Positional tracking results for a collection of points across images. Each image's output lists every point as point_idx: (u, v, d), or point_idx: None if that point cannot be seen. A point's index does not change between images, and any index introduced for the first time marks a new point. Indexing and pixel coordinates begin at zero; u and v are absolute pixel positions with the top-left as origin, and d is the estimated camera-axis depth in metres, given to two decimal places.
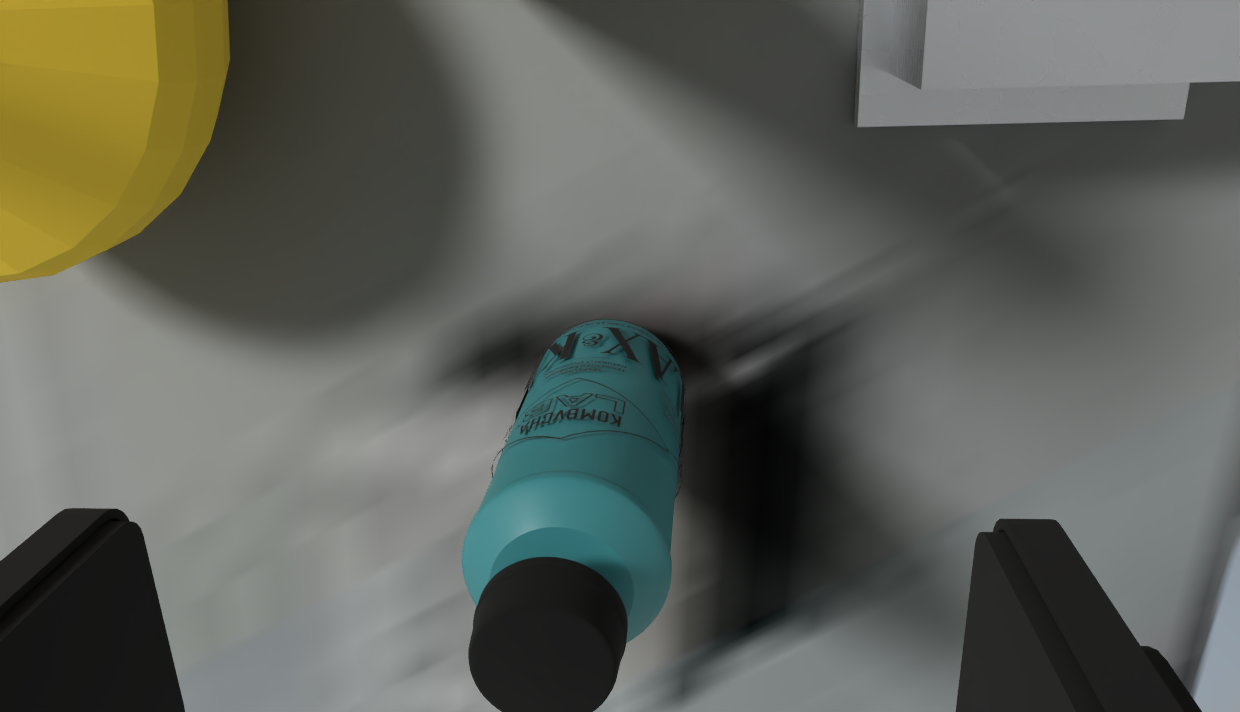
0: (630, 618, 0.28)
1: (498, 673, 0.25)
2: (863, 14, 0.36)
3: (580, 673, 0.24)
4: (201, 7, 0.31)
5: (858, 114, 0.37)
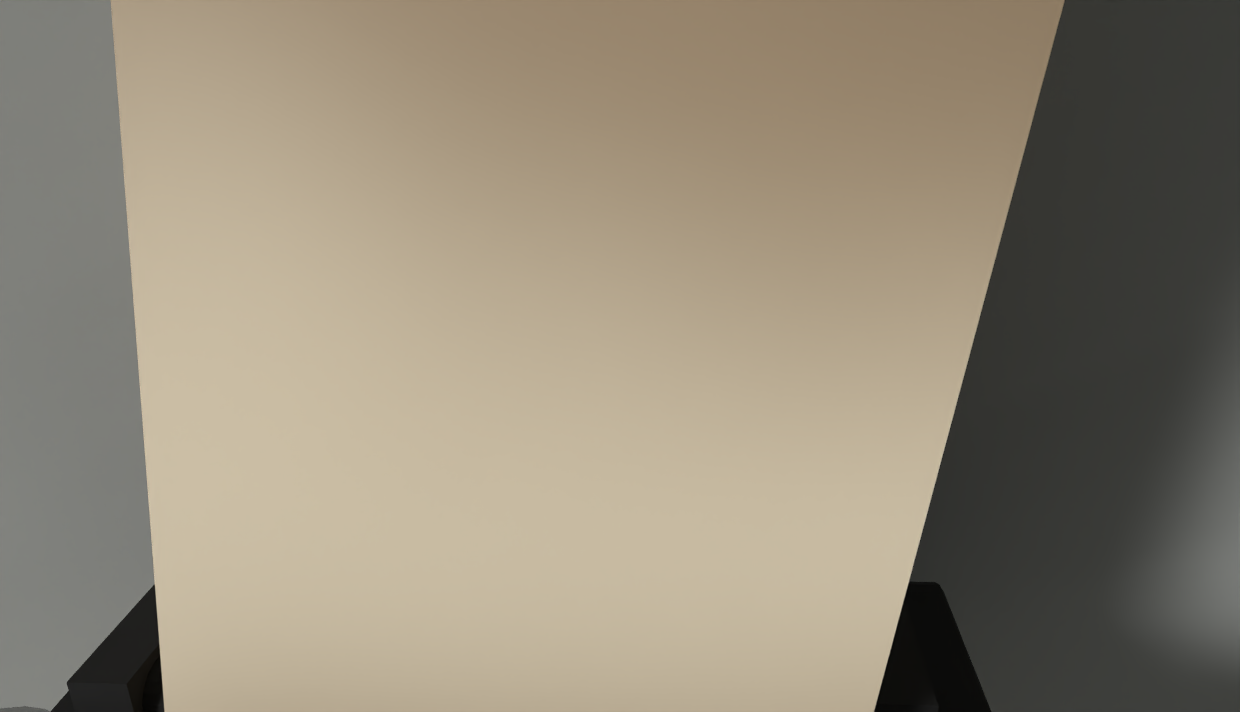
0: None
1: None
2: None
3: None
4: None
5: None
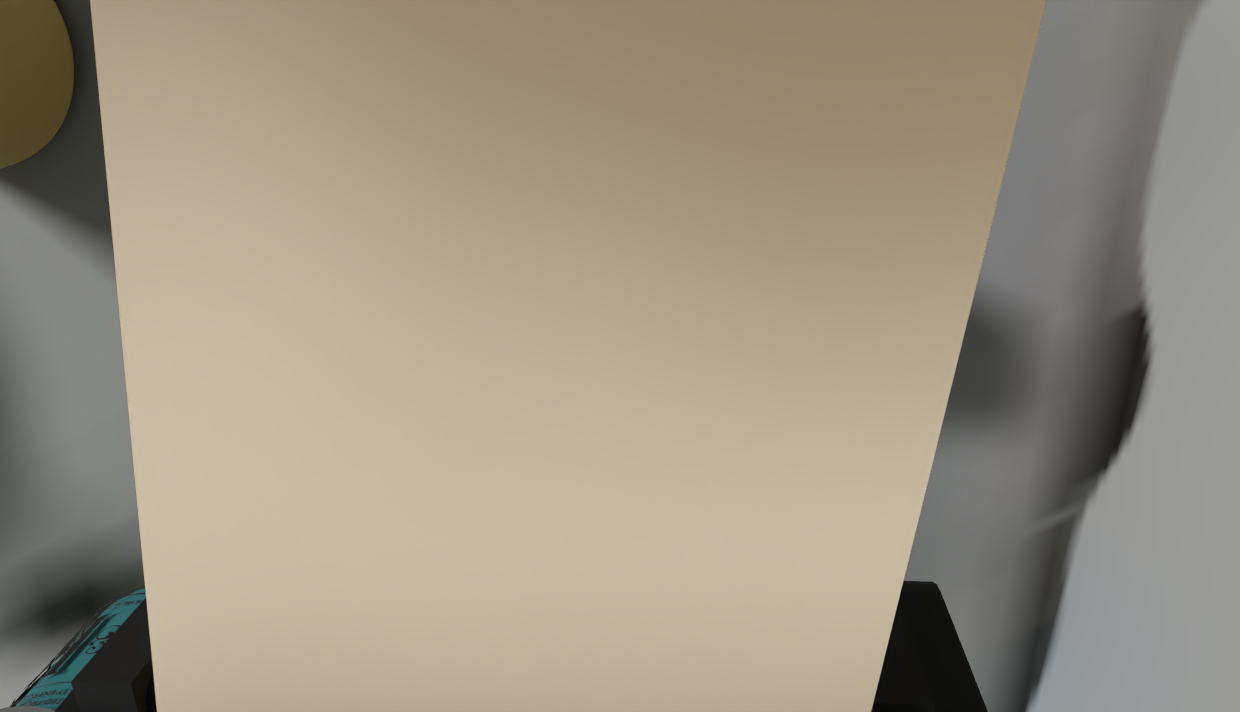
0: None
1: None
2: None
3: None
4: None
5: None
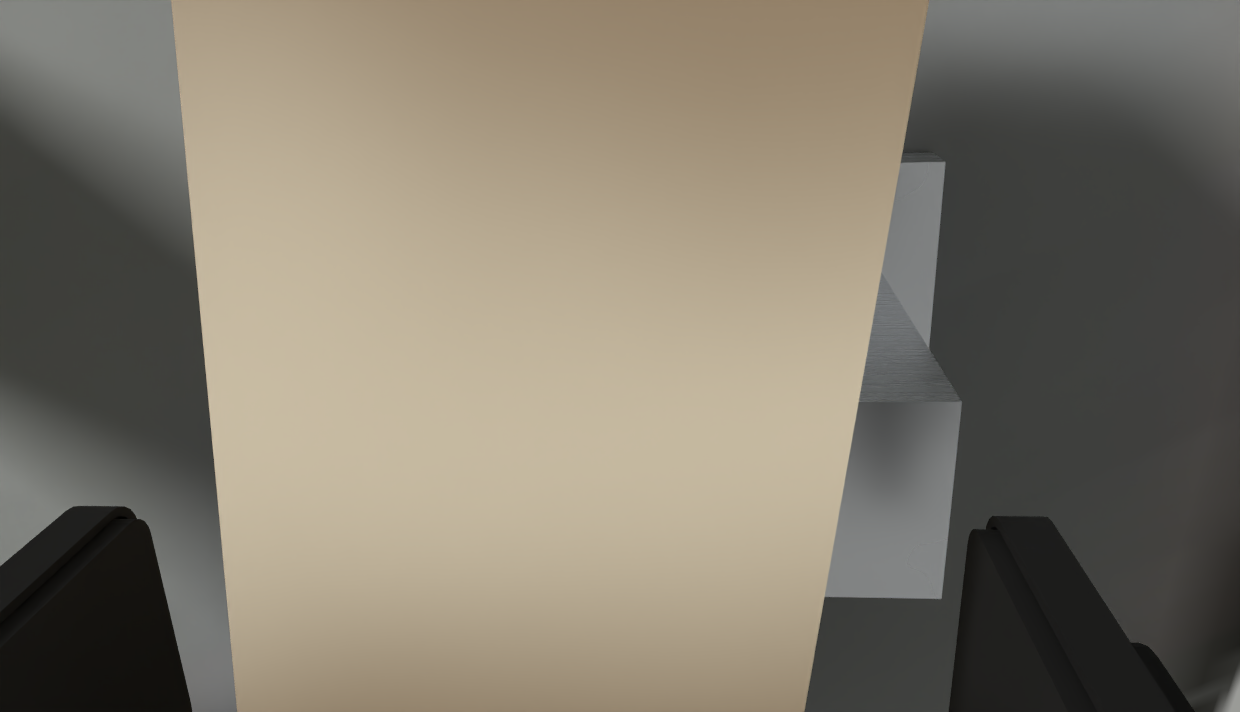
0: None
1: None
2: None
3: None
4: None
5: None
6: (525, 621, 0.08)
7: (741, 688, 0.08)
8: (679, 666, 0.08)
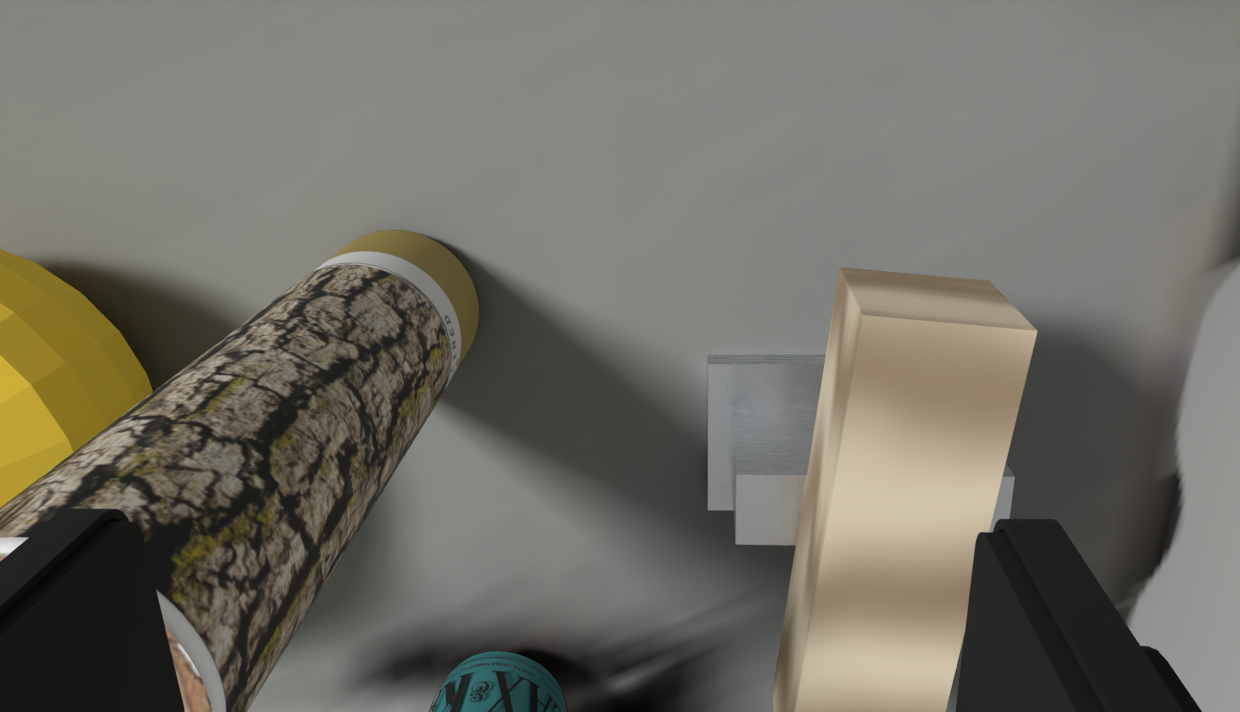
0: None
1: None
2: (708, 426, 0.42)
3: None
4: None
5: (708, 500, 0.43)
6: (906, 545, 0.31)
7: (963, 563, 0.31)
8: (946, 557, 0.31)
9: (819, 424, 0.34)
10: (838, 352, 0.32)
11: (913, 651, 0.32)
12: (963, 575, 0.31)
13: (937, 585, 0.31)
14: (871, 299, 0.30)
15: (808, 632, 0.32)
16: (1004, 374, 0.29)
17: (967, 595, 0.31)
